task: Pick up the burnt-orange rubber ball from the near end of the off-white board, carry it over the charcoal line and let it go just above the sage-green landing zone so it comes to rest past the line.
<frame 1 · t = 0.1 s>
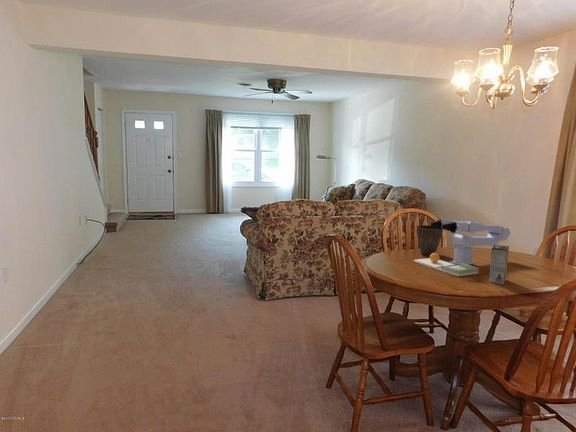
hand: (436, 225, 204), 22 cm above the table, tool horizontal, fingers open, 7 cm apart
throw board: (444, 267, 206), on the table
coffee box: (497, 281, 184), on the table
plant pot: (427, 254, 237), on the table
ball: (434, 257, 212), point 3 cm above the table, touching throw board
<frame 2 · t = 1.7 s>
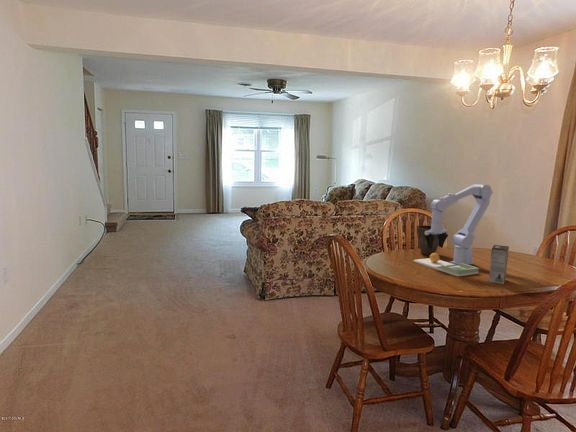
hand: (435, 247, 211), 9 cm above the table, tool pointing down, fingers open, 7 cm apart
nothing on the table moved.
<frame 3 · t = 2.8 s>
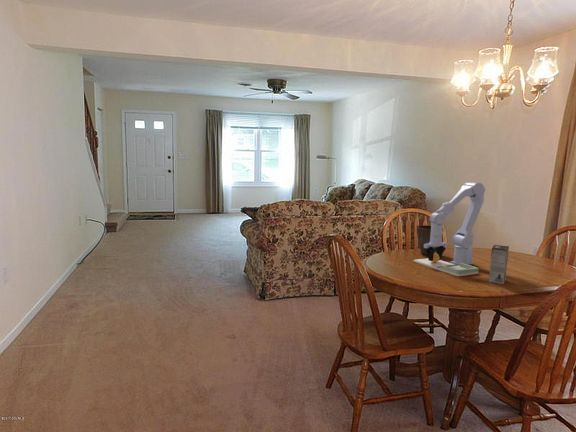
hand: (434, 260, 212), 2 cm above the table, tool pointing down, fingers closed on ball, 5 cm apart
ball: (434, 257, 212), point 3 cm above the table, touching gripper, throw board
everything else where it was.
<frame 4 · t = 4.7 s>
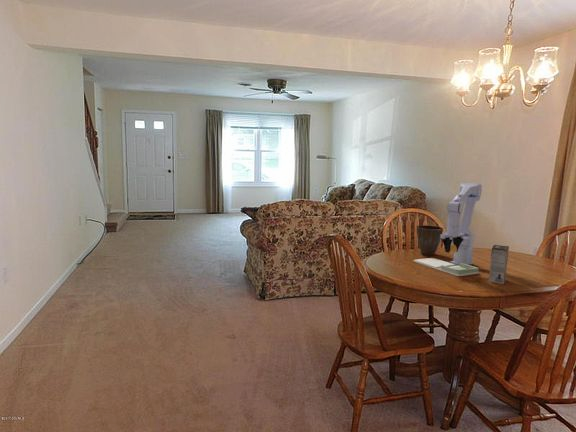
hand: (451, 251, 201), 9 cm above the table, tool pointing down, fingers closed on ball, 5 cm apart
ball: (451, 248, 201), point 11 cm above the table, touching gripper
everything else where it was.
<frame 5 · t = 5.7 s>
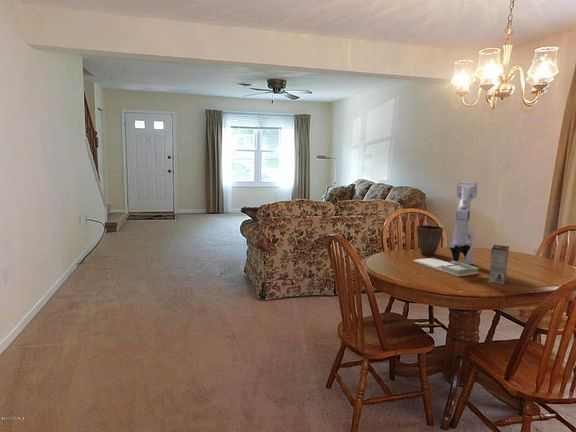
hand: (459, 260, 197), 6 cm above the table, tool pointing down, fingers closed on ball, 5 cm apart
ball: (459, 257, 197), point 7 cm above the table, touching gripper
everything else where it was.
when the fingers open (4 cm above the table, at t = 6.6 s): ball drops 1 cm, resting on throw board.
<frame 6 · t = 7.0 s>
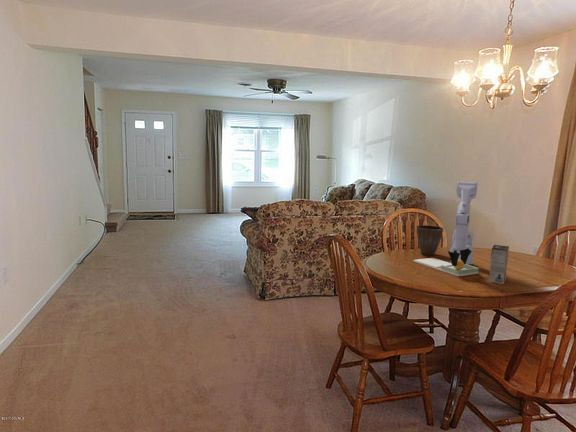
hand: (458, 264, 197), 4 cm above the table, tool pointing down, fingers open, 7 cm apart
ball: (458, 264, 197), point 4 cm above the table, touching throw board
everything else where it was.
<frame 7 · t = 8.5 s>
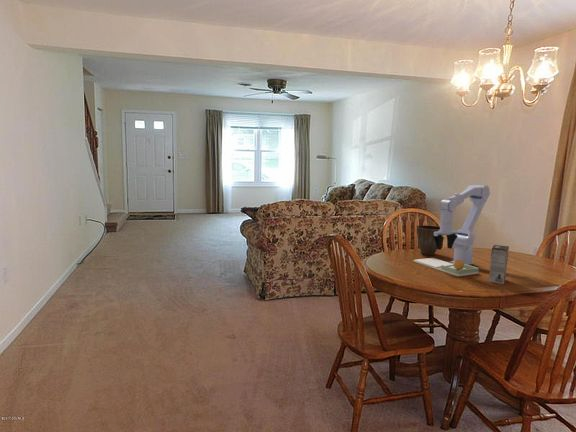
hand: (444, 248, 207), 9 cm above the table, tool pointing down, fingers open, 7 cm apart
nothing on the table moved.
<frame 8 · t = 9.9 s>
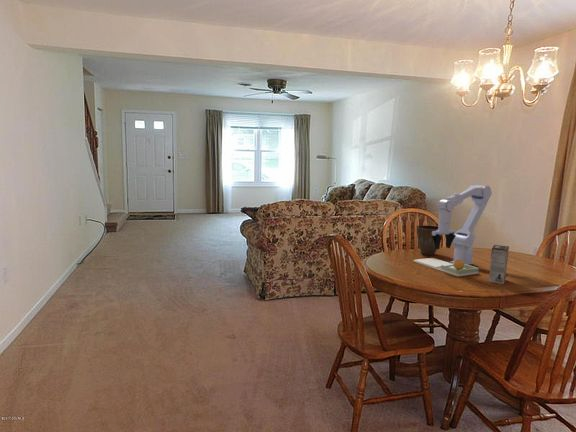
hand: (442, 248, 208), 9 cm above the table, tool pointing down, fingers open, 7 cm apart
nothing on the table moved.
at the end: ball inside the target area (0.5 cm from its centre), point 3.6 cm above the table; the gripper is holding nothing; ball moved 16.0 cm from its start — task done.
